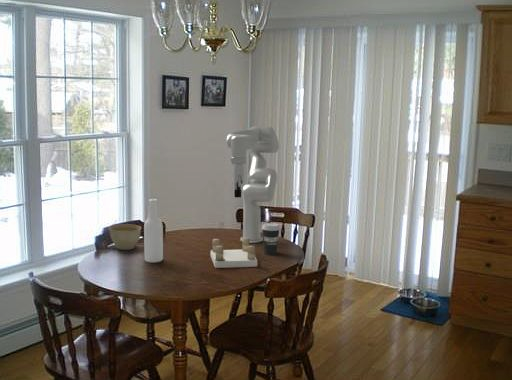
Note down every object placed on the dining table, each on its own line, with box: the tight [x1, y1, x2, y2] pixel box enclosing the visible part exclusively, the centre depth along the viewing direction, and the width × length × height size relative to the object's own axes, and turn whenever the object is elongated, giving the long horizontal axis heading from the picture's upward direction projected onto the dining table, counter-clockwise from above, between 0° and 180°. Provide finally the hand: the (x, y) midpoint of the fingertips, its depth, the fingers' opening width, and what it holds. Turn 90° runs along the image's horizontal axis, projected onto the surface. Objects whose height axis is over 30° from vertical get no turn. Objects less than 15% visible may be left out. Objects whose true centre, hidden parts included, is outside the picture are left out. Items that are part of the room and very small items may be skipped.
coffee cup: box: [261, 222, 281, 256], centre depth 300 cm, size 10×10×15 cm
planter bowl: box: [109, 223, 142, 251], centre depth 306 cm, size 16×16×11 cm
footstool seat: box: [210, 248, 258, 269], centre depth 286 cm, size 20×20×3 cm
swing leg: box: [216, 245, 224, 260], centre depth 280 cm, size 10×4×6 cm, turn 9°
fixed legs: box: [212, 238, 256, 260], centre depth 285 cm, size 19×19×6 cm
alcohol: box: [143, 198, 164, 264], centre depth 282 cm, size 9×9×30 cm
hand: (237, 197), depth 296 cm, fingers closed
